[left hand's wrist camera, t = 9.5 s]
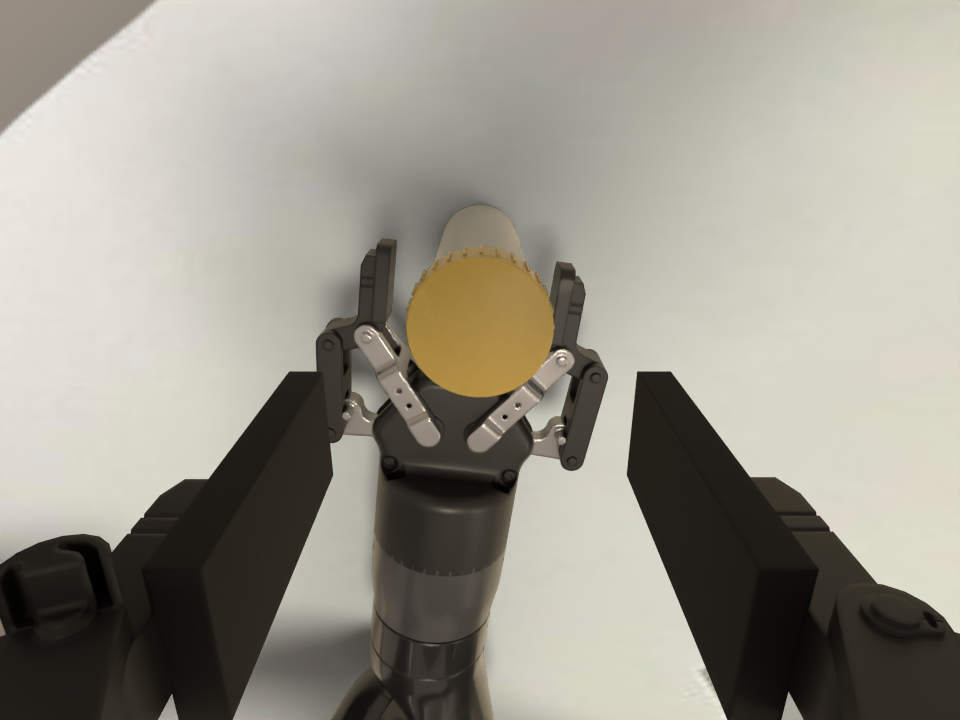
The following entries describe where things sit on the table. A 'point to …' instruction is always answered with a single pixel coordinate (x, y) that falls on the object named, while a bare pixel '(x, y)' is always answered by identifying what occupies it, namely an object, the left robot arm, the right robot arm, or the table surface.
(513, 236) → the blue-grey cylindrical container
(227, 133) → the table surface
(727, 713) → the left robot arm
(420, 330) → the lid
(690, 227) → the table surface
